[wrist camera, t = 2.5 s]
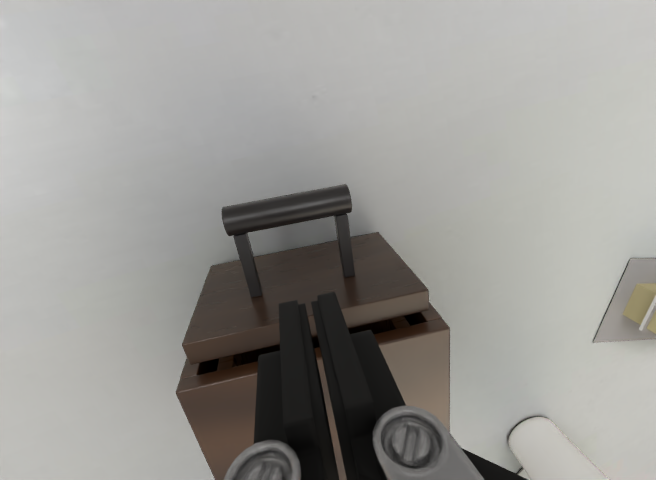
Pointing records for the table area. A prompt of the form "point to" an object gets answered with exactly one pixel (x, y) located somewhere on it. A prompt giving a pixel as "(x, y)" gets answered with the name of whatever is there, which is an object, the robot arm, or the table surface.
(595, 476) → the drinking glass
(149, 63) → the table surface
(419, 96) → the table surface
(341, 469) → the cabinet
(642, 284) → the stacked layers on plate
